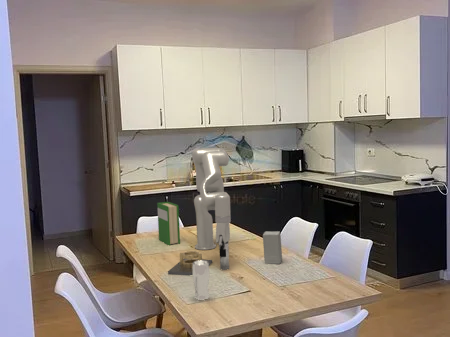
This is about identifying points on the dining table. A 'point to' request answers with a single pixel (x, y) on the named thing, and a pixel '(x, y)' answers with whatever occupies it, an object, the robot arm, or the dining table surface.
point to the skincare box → (272, 247)
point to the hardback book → (168, 223)
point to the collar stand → (187, 263)
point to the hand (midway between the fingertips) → (224, 255)
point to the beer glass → (201, 279)
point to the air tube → (225, 258)
